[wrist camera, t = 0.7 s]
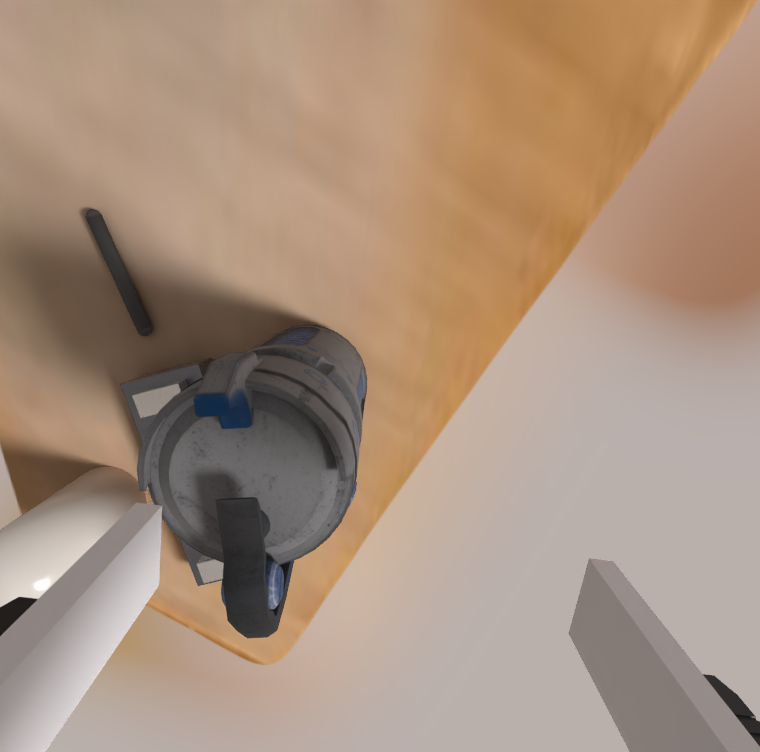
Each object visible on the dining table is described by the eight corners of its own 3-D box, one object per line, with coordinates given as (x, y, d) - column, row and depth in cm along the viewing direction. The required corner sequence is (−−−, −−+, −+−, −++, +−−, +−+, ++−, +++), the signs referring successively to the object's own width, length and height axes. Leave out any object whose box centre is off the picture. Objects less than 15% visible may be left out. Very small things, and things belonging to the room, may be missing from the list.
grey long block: (140, 376, 44) (110, 388, 39) (212, 356, 43) (191, 367, 39) (210, 563, 48) (191, 596, 43) (277, 547, 48) (265, 579, 43)
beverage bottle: (265, 458, 45) (130, 676, 21) (249, 319, 42) (72, 378, 18) (372, 453, 45) (363, 664, 21) (363, 312, 42) (341, 363, 18)
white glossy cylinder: (61, 479, 46) (-77, 567, 32) (127, 456, 45) (17, 536, 31) (93, 542, 47) (-25, 651, 33) (158, 520, 46) (65, 623, 33)
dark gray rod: (88, 213, 40) (80, 211, 39) (101, 208, 40) (93, 206, 39) (144, 336, 43) (137, 338, 41) (156, 332, 43) (150, 334, 41)
